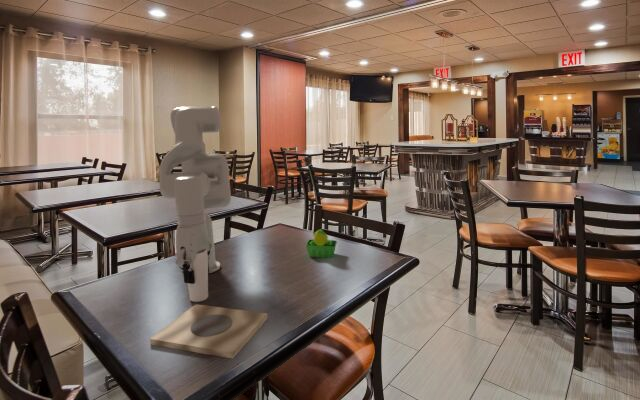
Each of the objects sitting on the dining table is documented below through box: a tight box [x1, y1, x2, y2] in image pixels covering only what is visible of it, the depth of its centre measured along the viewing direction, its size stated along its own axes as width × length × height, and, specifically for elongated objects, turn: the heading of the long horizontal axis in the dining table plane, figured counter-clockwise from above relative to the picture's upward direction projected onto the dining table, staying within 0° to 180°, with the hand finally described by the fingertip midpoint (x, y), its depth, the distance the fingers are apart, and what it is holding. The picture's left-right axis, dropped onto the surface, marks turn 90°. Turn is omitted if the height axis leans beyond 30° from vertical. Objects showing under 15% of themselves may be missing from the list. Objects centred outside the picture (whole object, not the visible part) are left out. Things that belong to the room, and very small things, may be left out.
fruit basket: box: [305, 229, 338, 259], centre depth 146 cm, size 11×9×11 cm
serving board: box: [149, 303, 268, 359], centre depth 95 cm, size 22×18×2 cm
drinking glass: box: [185, 249, 209, 303], centre depth 112 cm, size 7×7×15 cm
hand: (197, 277), depth 112 cm, fingers closed on drinking glass, 6 cm apart
